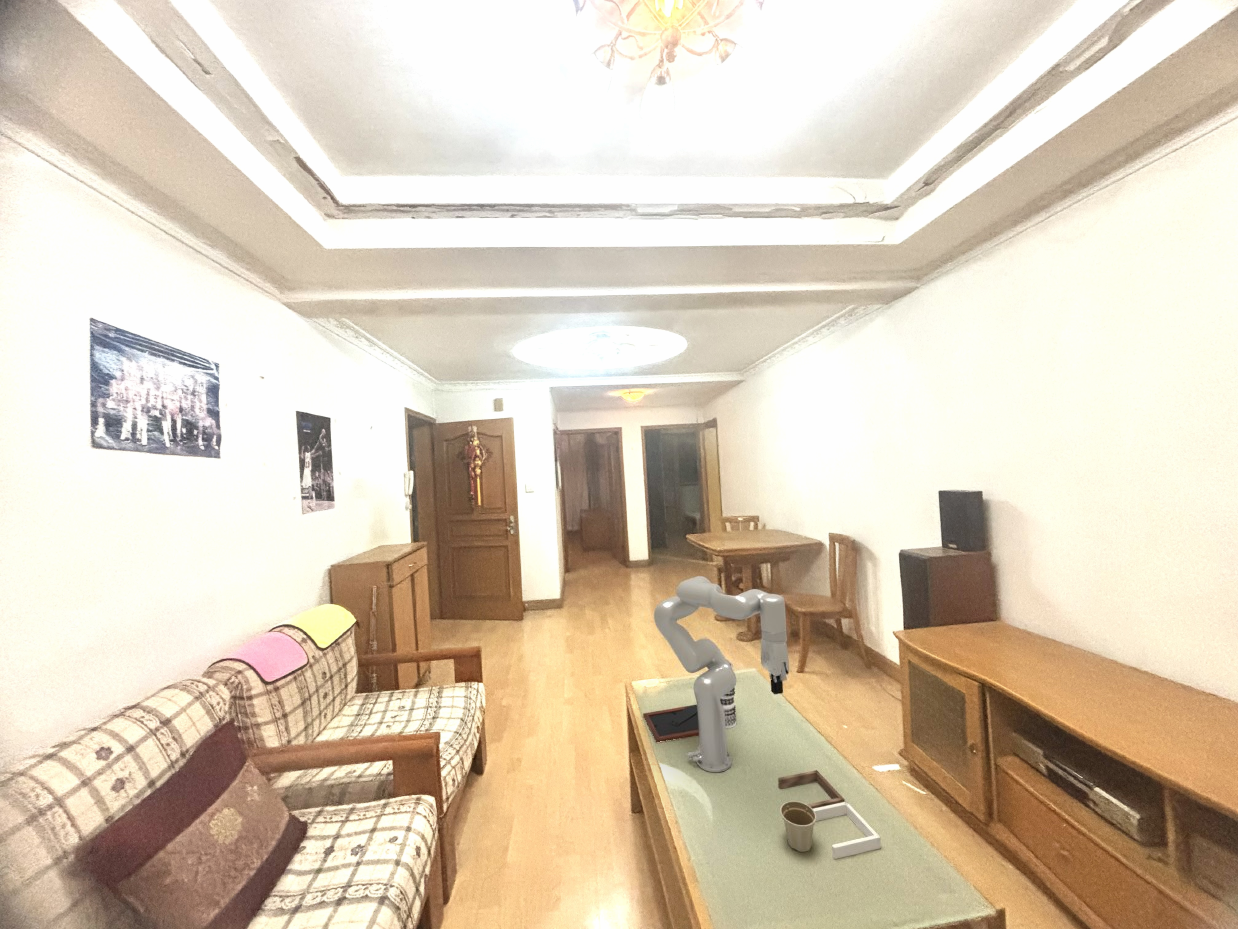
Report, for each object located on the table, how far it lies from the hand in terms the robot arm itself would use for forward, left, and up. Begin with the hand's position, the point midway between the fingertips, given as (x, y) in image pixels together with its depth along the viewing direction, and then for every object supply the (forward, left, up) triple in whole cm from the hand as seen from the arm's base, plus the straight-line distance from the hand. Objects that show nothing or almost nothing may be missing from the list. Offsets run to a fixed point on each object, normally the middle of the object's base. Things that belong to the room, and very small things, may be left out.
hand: (777, 692), depth 152 cm
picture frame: (-18, +49, -34) cm, 62 cm away
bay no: (+8, -3, -33) cm, 34 cm away
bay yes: (+8, -18, -33) cm, 38 cm away
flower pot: (-5, -18, -33) cm, 38 cm away
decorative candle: (0, +44, -33) cm, 55 cm away
